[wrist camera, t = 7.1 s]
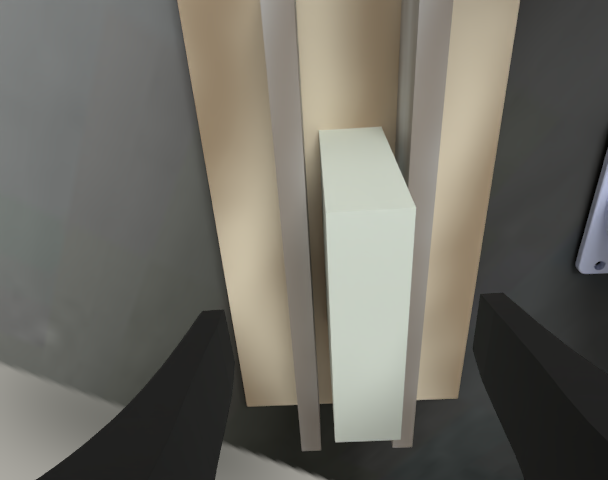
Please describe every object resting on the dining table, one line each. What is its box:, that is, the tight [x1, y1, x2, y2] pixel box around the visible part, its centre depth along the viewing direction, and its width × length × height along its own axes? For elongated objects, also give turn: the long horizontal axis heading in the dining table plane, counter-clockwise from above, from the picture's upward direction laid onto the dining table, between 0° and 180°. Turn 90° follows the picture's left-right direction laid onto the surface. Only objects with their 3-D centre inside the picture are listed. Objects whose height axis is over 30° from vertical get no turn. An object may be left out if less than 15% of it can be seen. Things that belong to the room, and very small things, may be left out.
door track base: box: [177, 0, 520, 451], centre depth 21 cm, size 12×22×4 cm, turn 3°
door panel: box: [319, 127, 416, 442], centre depth 19 cm, size 2×10×7 cm, turn 4°
